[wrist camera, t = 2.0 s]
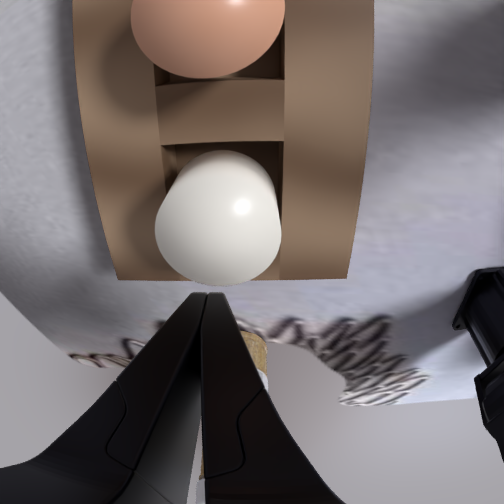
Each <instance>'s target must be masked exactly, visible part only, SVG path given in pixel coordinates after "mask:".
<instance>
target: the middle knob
mask: <svg viewBox="0 0 504 504" xmlns="http://www.w3.org/2000/svg"><path fill="white" fill-rule="evenodd" d="M284 14H285V1H284V0H133V2H132V7H131V27H132V31H133V35H134V37H135V40H136V42H137V44H138V46H139V47H140V49H141V50H142V52H143V53H144V54H145V55H146V56H147V57H148V58H149V59H150V60H151V61H152V62H153V63H154V64H156V65H157V66H159V67H160V68H162V69H164V70H166V71H168V72H170V73H173V74H176V75H179V76H184V77H189V78H214V77H220V76H224V75H228V74H231V73H234V72H237V71H239V70H241V69H243V68H245V67H247V66H248V65H250V64H251V63H253V62H255V61H256V60H257V59H258V58H260V57H261V56H262V55H263V54H264V53H265V52H266V51H267V50H268V49H269V48H270V46H271V45H272V44H273V42H274V41H275V39H276V37H277V35H278V34H279V32H280V29H281V26H282V24H283V19H284Z"/></svg>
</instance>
